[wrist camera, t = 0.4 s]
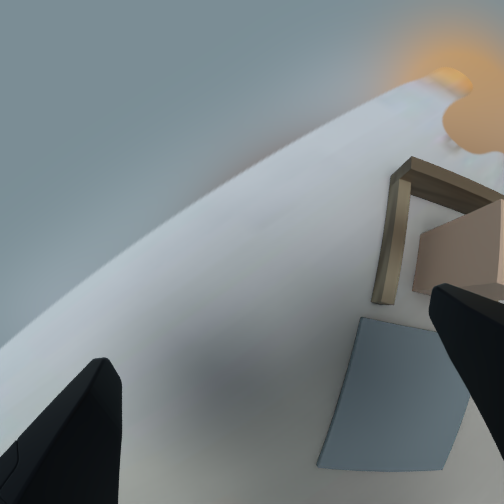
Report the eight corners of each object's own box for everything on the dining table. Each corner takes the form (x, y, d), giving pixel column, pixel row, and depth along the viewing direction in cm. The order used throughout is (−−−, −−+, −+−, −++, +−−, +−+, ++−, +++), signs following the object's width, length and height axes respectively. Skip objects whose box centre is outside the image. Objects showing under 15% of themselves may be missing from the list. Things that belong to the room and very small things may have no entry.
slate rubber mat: (439, 467, 20) (442, 469, 20) (316, 464, 21) (317, 467, 20) (480, 340, 22) (484, 340, 21) (360, 317, 22) (363, 317, 22)
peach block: (456, 301, 22) (543, 297, 12) (412, 290, 22) (496, 282, 13) (463, 248, 23) (546, 222, 13) (420, 234, 23) (500, 198, 13)
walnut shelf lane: (480, 325, 22) (509, 327, 18) (370, 302, 22) (393, 302, 18) (491, 214, 23) (518, 203, 19) (390, 176, 24) (411, 156, 20)
